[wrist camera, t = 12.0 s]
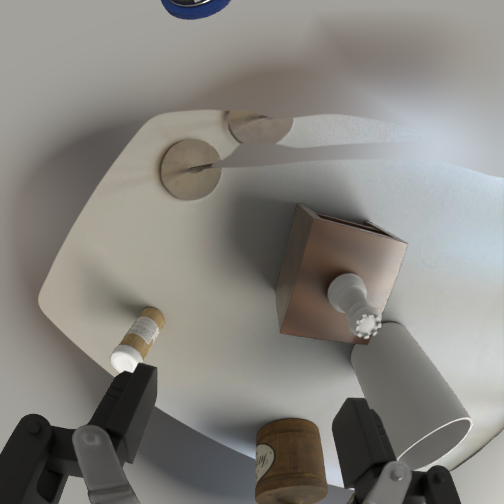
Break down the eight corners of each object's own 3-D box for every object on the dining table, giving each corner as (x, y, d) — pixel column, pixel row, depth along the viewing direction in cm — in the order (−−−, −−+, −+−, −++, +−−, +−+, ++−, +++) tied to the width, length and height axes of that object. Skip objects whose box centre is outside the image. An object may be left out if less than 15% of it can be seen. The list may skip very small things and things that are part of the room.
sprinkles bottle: (154, 332, 47) (127, 381, 34) (136, 315, 46) (103, 360, 33) (170, 320, 46) (144, 369, 33) (151, 301, 45) (119, 346, 32)
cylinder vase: (364, 382, 49) (402, 480, 26) (338, 346, 47) (381, 460, 23) (414, 348, 47) (473, 435, 23) (396, 308, 44) (471, 403, 20)
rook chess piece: (322, 305, 31) (339, 346, 23) (332, 268, 30) (354, 302, 22) (357, 309, 31) (380, 348, 23) (368, 274, 30) (397, 307, 22)
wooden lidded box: (297, 202, 39) (313, 217, 28) (371, 222, 40) (408, 243, 28) (274, 290, 44) (279, 333, 32) (344, 303, 44) (367, 345, 33)
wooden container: (251, 422, 53) (247, 506, 32) (318, 413, 52) (333, 497, 31) (261, 453, 58) (260, 524, 37) (319, 445, 57) (330, 516, 36)
